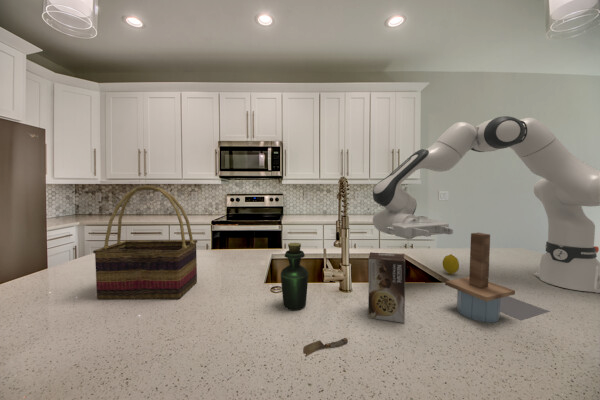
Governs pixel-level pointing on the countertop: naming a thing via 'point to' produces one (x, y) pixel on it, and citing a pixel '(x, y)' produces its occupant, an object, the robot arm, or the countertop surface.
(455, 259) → the lemon
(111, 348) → the countertop surface
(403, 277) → the coffee box
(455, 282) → the wooden post on board
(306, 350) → the meat cleaver
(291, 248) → the potion bottle
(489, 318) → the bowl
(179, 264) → the basket
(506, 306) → the mat
